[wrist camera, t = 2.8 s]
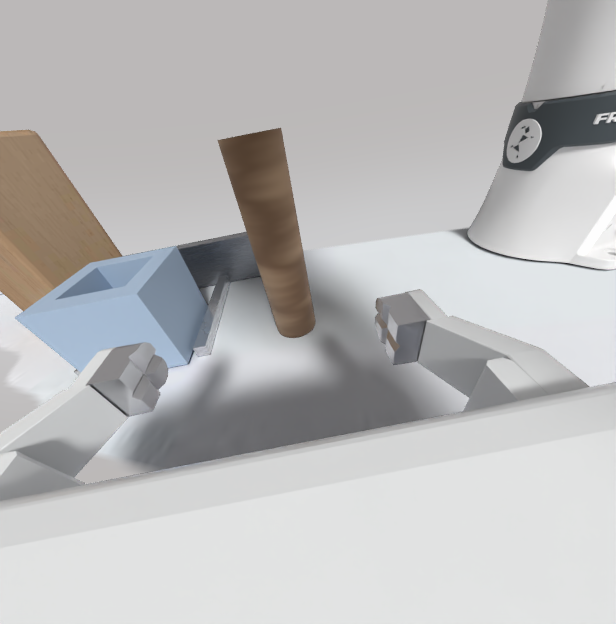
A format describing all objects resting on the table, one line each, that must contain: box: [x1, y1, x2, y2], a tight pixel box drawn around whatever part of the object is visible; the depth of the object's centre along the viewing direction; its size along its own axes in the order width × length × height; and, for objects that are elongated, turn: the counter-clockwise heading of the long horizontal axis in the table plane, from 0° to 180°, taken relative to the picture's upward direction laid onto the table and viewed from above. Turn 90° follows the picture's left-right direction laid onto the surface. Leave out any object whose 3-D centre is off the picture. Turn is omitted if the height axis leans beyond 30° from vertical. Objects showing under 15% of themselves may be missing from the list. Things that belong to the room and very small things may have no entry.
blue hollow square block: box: [15, 246, 208, 372], centre depth 23 cm, size 9×9×8 cm
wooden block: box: [0, 130, 122, 311], centre depth 29 cm, size 10×10×20 cm
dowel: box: [218, 128, 315, 338], centre depth 20 cm, size 4×4×16 cm
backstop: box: [74, 232, 261, 376], centre depth 27 cm, size 20×16×6 cm
